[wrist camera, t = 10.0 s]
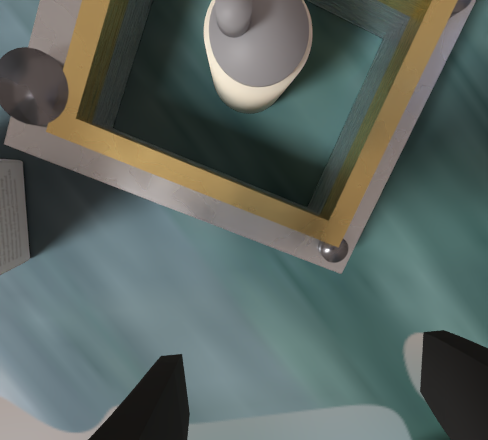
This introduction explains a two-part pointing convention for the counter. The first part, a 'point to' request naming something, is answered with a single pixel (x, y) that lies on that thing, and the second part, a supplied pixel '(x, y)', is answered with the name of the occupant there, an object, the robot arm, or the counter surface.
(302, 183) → the counter surface
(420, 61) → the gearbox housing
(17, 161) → the skincare box
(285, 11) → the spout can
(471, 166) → the counter surface
